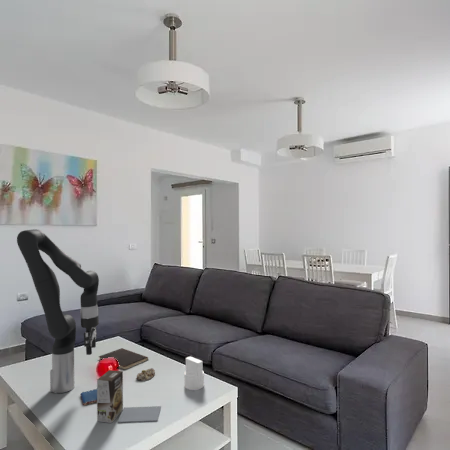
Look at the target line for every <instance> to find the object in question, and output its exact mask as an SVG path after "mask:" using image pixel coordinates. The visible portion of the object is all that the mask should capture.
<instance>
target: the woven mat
mask: <svg viewBox="0 0 450 450" xmlns="http://www.w3.org/2000/svg"><path fill="white" fill-rule="evenodd" d="M79 396H80V397H81V402H82V405H83V406H87V405H92V404H95V403H96V404H97V388H96V389H95V388H94V389H92V390H86V391H82V392H80V395H79Z"/></svg>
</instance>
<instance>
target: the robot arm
mask: <svg viewBox="0 0 450 450" xmlns="http://www.w3.org/2000/svg"><path fill="white" fill-rule="evenodd" d="M16 244H17V245H18V246H17V247H18V249H19V250H20V253H21V254H22V255H21V256H22V257H23V258H24V260H25V263H26V265H27V268H28V270H29V273H30V275H31V279H32V282H33V284H34V289H35V290H36V293H37V295H38V298H39V301H40V304H41V307H42V310H43V312H44V317H45V320H46V325H47V329H48V332H49V335H50V336H51V337H52V338H53V339H54V342H53V344H52V347H51V369H50V371H49V376H50V377H49V378H50V379H49V385H50V386H49V387H50V390H49V391H50V393H51V392H52V393H55V394H62V393H66V392H67V393H68V392H70V391H72V390H73V389H74V388H75V345H76V340H77V339H76V336H77V324H76V320H75V318H74V317H73V316H72V315H71V314H64V312H63V310H62V307H61V300H60V299H61V296H60V295H61V291H60V289H61V288H60V285H59V282H58V279H57V274H56V273H55V272H54V270H53V269H52V268H51V267H50V266H49V265H48V264H47V262H46V261H44V259H43V256H42V255H41V252H42V253H45V254H46V255H47V256H48V258H50V259H51V262H52V263H53V264H54V265H55V267H57V269H59V270H60V271H62V272H63V273H64V274H65V275H67V276H68V277H69V278H70V279H71V280H72V282H73V283H74V284H75V285H76V286H78V287H80V288H81V289H83V292H82V293H81V294H80V311H79V312H80V313H79V314H80V326H81V328H83V329H85V331H84V333H83V347H84V348H85V351H86V356H87V355H88V356H90V355H92V353H93V351H92V350H93V349H95V348H96V347H97V346H96V345H97V343H96V339H97V335H98V334H97V326H99V324H100V323H99V319H100V318H99V308H98V291H99V286H100V285H99V283H100V280H99V279H100V278H99V275H98V273H97V272H95V270H88V271H85V270H84V269H83V268H82V264H81V263H79V262H78V261H77V260H76V259H74V258H73V257H72V256H70V255H69V254H67V253H66V252H65V251H63V250H62V249H61V248H60V247H59V246H58V245H56V243H55V242H53V240H52V239H50V237H49V236H48V235H47V234H46V233H45V232H43V231H42V230H40V229H35V228H34V229H27V230H21V231H20V232H19V233H18V234H17V236H16ZM40 251H41V252H40Z"/></svg>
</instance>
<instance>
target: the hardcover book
mask: <svg viewBox="0 0 450 450" xmlns="http://www.w3.org/2000/svg"><path fill="white" fill-rule="evenodd" d="M108 357H114V358H116V359H117V360H118V362H119V365H120V367H119V368H120V369H122V370H127V369H129V368H132V367H134V366H137V365H139V364H141V363H143V362H147V361H148V360H149V357H148V356H146V355H143V354H140V353H138V352H135V351H131V350H129V349H126V348H118V349H116V350H112V351H109V352H108V353H104V354H101V355H99V356H98V358H99V360H100V359H103V358H108Z"/></svg>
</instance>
